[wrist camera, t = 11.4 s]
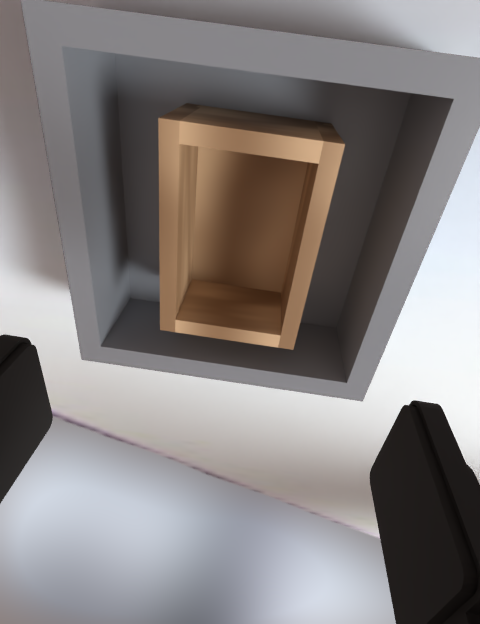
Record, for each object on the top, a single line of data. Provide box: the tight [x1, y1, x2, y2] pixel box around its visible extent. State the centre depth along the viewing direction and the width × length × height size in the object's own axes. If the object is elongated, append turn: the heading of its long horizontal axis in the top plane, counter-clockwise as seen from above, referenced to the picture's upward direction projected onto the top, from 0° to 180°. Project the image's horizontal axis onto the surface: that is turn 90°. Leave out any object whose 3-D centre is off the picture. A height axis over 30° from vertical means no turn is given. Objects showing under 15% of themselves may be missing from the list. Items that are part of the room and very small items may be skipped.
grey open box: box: [21, 0, 480, 401], centre depth 19 cm, size 16×16×6 cm
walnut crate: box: [158, 103, 345, 350], centre depth 19 cm, size 7×10×5 cm
